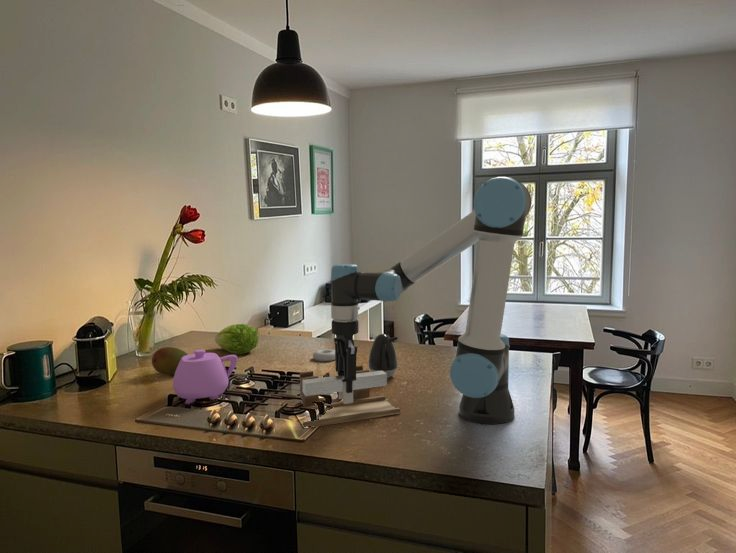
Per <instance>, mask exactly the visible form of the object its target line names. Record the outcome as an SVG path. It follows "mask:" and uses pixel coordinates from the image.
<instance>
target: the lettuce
mask: <svg viewBox="0 0 736 553" xmlns="http://www.w3.org/2000/svg"><path fill="white" fill-rule="evenodd" d="M214 342H215V344H217V345H218V347H219V348H220V349H222V350H225V351H228V352H229V353H231V354H232V355H243V354H246V353H249V352H251V351H252V350H254V349H255V348H256V347H257V345H258V343H259V333H258V330H257V329H256V328H254V327H253V326H250V325H248V324H246V323H237V324H231V325H228V326H226V327H224V328H223V329H221V330H220V331H218V333H217V334H216V335H215V337H214Z"/></svg>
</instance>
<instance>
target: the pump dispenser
mask: <svg viewBox="0 0 736 553" xmlns="http://www.w3.org/2000/svg"><path fill="white" fill-rule="evenodd" d="M397 340H399V338H398V336H393V337H390V336H389V335H388V334H385V333H380V334H378V335H376V336H375V338H374V340H373V343H372V345H371V348H370V351H369V357H368V369H369V372H374V371H384V372H385V373H387V379H390V378H391V377H393V376H394V375H395V374H396V372H397V369H398V367H399V366H398V364H399V363H398V356H397V351H396V349H395V346H394V343H393V342H395V341H397Z"/></svg>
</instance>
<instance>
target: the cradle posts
mask: <svg viewBox="0 0 736 553" xmlns="http://www.w3.org/2000/svg"><path fill="white" fill-rule="evenodd" d="M365 372H370V369H364V365H362V364H360V365H356V374H357V373H365ZM314 378H319V376H318V375H314V371H313V370H310V371H303V372H299V392H300V393H299V394H300V396H299V397H300V398H301V399H302V402H303V404H304V406H305V407H307V406H314V405H315V404H314V403H312V402H314V401H319V400H320V399H319V398H320V394H318V395H310V396H305V394H304V393H303V385H302V380H306V379H314ZM370 396H371V395H370V388H364V389H357V390H353V400H356V399H363V398H370ZM319 402H320V401H319ZM304 406H303V407H304Z"/></svg>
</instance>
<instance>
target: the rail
mask: <svg viewBox="0 0 736 553" xmlns="http://www.w3.org/2000/svg"><path fill="white" fill-rule="evenodd" d="M343 379H344V375H340V376H338V375H332V376H324V377H318V378H314V379H306V380H302V385H303V393H304V394H305V396H310V395H318V394H319V395H324V394H325V395H326V394H331V393H332V394H333V393H339V392H341V391H343V382H342V380H343ZM386 386H388V378H387V373H385V372H384V371H374V372H370V371H369V372H365V373H357V374H356V380H355V381H353V390H357V389H364V388H369V389H373V388H379V387H386Z"/></svg>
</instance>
